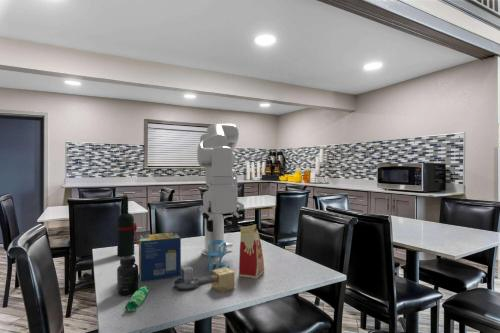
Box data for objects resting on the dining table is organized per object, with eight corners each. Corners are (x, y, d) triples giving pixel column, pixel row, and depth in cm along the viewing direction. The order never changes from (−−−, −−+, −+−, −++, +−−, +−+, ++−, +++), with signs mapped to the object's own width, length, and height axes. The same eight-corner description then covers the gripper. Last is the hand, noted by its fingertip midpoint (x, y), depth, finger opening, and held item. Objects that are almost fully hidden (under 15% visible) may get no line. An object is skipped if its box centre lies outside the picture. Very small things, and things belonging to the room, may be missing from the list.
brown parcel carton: (226, 283, 110) (226, 267, 110) (234, 288, 105) (234, 271, 105) (211, 287, 107) (211, 270, 107) (219, 292, 102) (219, 275, 102)
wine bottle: (136, 256, 145) (135, 194, 145) (114, 257, 144) (114, 194, 144) (141, 252, 152) (141, 193, 153) (121, 252, 152) (120, 193, 152)
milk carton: (264, 270, 123) (264, 222, 124) (257, 278, 115) (257, 226, 115) (243, 268, 126) (243, 221, 127) (235, 276, 118) (235, 225, 118)
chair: (204, 271, 123) (203, 242, 123) (213, 265, 131) (213, 237, 131) (220, 273, 121) (220, 243, 121) (229, 267, 128) (229, 239, 128)
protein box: (138, 273, 122) (138, 235, 122) (176, 268, 128) (176, 231, 128) (140, 282, 112) (139, 241, 112) (181, 276, 118) (181, 237, 118)
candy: (139, 309, 89) (132, 298, 89) (130, 316, 89) (122, 304, 89) (151, 292, 101) (144, 282, 101) (143, 298, 101) (136, 288, 101)
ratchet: (226, 272, 122) (226, 256, 122) (237, 279, 114) (237, 262, 114) (170, 284, 110) (170, 267, 110) (179, 293, 102) (179, 274, 102)
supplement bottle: (121, 288, 106) (121, 254, 106) (140, 287, 107) (140, 254, 107) (114, 297, 99) (113, 260, 99) (135, 296, 100) (135, 260, 100)
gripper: (238, 180, 114) (238, 225, 114) (195, 182, 105) (195, 231, 104) (248, 181, 108) (249, 228, 107) (204, 182, 98) (204, 234, 98)
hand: (222, 229), depth 106 cm, fingers open, 9 cm apart
